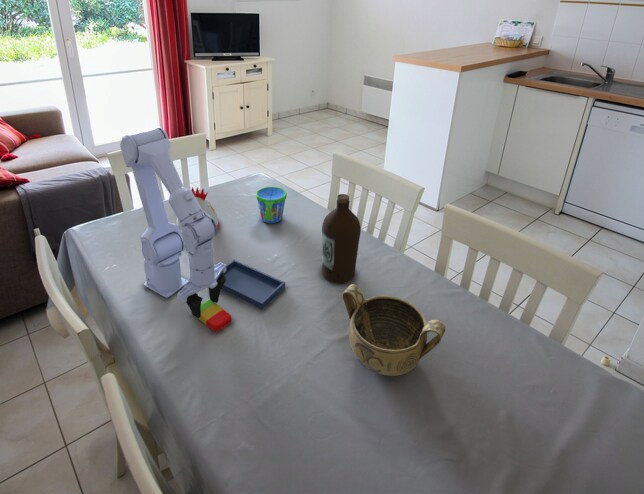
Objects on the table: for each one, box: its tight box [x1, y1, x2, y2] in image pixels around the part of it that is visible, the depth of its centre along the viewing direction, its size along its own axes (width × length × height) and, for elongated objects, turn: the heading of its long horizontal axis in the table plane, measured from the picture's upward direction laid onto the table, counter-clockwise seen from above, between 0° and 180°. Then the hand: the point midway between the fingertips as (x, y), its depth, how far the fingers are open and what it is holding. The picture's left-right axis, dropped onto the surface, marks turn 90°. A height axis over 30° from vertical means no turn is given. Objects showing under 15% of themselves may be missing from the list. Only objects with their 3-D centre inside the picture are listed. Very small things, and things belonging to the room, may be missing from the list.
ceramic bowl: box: [342, 283, 446, 377], centre depth 93 cm, size 22×17×15 cm
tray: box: [221, 259, 286, 310], centre depth 117 cm, size 18×10×2 cm, turn 57°
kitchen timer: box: [175, 186, 220, 232], centre depth 142 cm, size 14×14×15 cm
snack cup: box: [255, 186, 288, 224], centre depth 149 cm, size 16×10×10 cm
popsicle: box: [197, 298, 232, 333], centre depth 108 cm, size 6×15×2 cm, turn 48°
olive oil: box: [321, 193, 362, 285], centre depth 119 cm, size 11×11×25 cm
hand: (205, 308), depth 107 cm, fingers closed on popsicle, 6 cm apart
